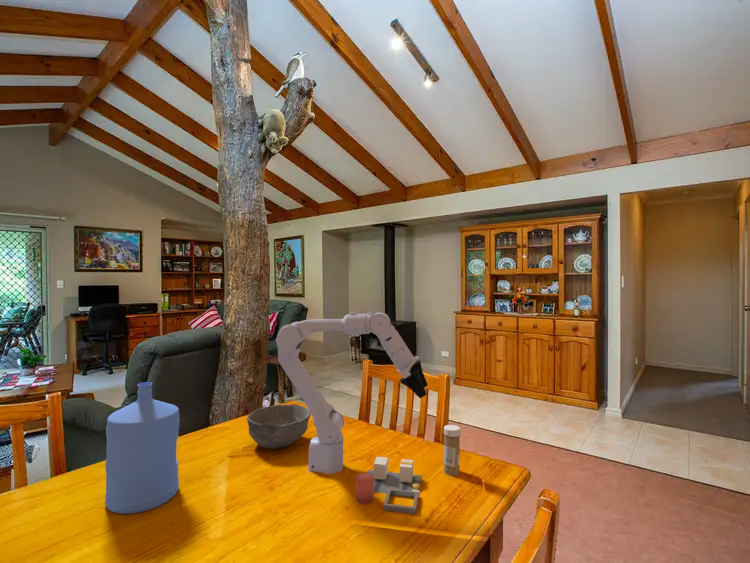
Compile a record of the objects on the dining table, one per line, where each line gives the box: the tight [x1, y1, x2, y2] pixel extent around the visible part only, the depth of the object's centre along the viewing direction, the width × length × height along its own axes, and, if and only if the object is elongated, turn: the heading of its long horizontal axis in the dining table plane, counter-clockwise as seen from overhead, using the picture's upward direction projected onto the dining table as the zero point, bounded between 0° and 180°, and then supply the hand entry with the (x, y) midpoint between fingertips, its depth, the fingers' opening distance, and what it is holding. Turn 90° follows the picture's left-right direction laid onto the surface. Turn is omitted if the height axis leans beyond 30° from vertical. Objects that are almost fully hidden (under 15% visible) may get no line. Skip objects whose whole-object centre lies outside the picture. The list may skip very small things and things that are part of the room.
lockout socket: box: [382, 488, 419, 515], centre depth 95 cm, size 8×8×2 cm
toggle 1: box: [373, 456, 389, 480], centre depth 107 cm, size 3×4×4 cm
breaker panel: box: [367, 469, 423, 498], centre depth 104 cm, size 15×11×2 cm
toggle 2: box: [399, 458, 414, 483], centre depth 106 cm, size 3×4×4 cm
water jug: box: [104, 381, 181, 515], centre depth 97 cm, size 16×16×28 cm
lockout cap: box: [355, 472, 375, 505], centre depth 96 cm, size 4×4×6 cm
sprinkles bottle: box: [443, 424, 461, 477], centre depth 111 cm, size 5×5×14 cm
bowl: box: [246, 404, 312, 450], centre depth 130 cm, size 21×21×10 cm
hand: (424, 391), depth 110 cm, fingers open, 7 cm apart
